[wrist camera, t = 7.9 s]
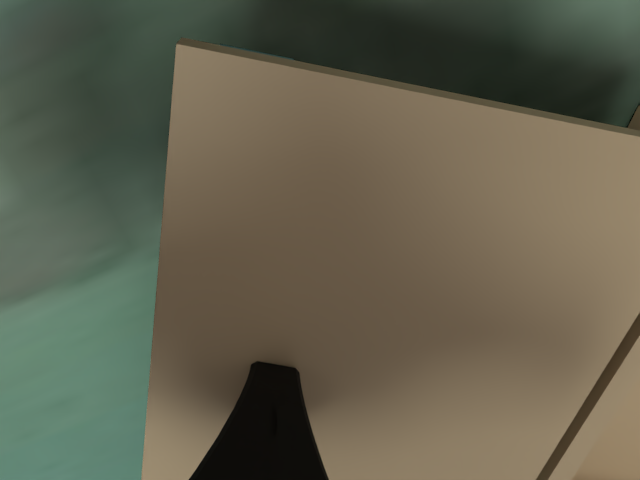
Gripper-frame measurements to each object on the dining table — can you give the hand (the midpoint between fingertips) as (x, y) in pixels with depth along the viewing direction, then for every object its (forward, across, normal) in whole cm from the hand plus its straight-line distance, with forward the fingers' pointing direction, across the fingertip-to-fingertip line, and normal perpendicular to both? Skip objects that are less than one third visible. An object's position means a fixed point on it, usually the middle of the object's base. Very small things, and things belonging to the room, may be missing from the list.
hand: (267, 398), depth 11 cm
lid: (0, -3, 0) cm, 3 cm away
